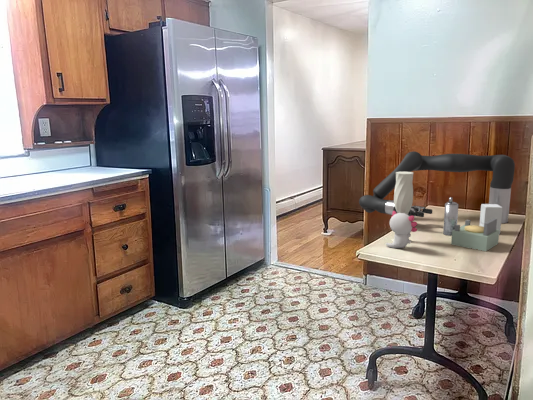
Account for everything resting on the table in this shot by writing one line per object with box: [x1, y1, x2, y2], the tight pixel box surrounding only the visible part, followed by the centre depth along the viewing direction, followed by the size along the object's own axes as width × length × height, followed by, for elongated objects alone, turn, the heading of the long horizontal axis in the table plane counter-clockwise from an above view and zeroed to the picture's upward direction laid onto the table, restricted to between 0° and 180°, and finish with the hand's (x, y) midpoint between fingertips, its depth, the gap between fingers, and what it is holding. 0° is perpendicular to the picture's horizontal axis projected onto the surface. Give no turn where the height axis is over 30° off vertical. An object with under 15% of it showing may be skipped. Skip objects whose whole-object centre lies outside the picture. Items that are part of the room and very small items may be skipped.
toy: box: [384, 211, 418, 249], centre depth 181 cm, size 14×8×15 cm, turn 29°
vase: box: [390, 171, 414, 243], centre depth 190 cm, size 9×8×30 cm
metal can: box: [442, 196, 459, 237], centre depth 200 cm, size 6×6×17 cm
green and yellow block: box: [450, 218, 500, 252], centre depth 186 cm, size 14×14×11 cm
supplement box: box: [478, 203, 502, 235], centre depth 203 cm, size 7×7×13 cm
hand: (427, 213), depth 208 cm, fingers open, 8 cm apart
